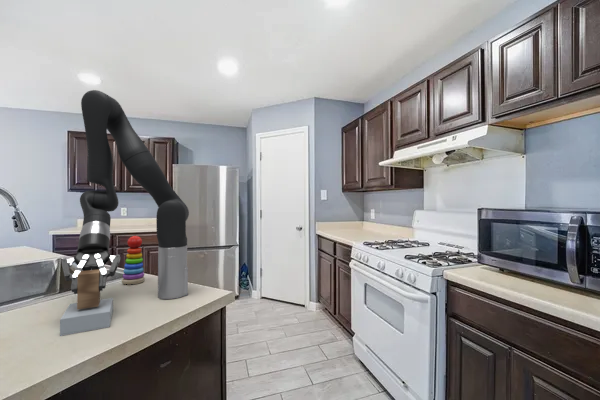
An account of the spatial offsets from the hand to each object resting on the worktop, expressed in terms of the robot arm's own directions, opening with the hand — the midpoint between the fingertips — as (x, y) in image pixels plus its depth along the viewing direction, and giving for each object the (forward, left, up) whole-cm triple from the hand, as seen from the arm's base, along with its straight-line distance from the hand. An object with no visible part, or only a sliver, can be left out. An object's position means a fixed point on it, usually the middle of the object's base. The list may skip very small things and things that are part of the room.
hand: (88, 290), depth 74 cm
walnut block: (0, -2, -4) cm, 5 cm away
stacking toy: (-10, -39, -9) cm, 41 cm away
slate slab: (0, -2, -9) cm, 9 cm away
